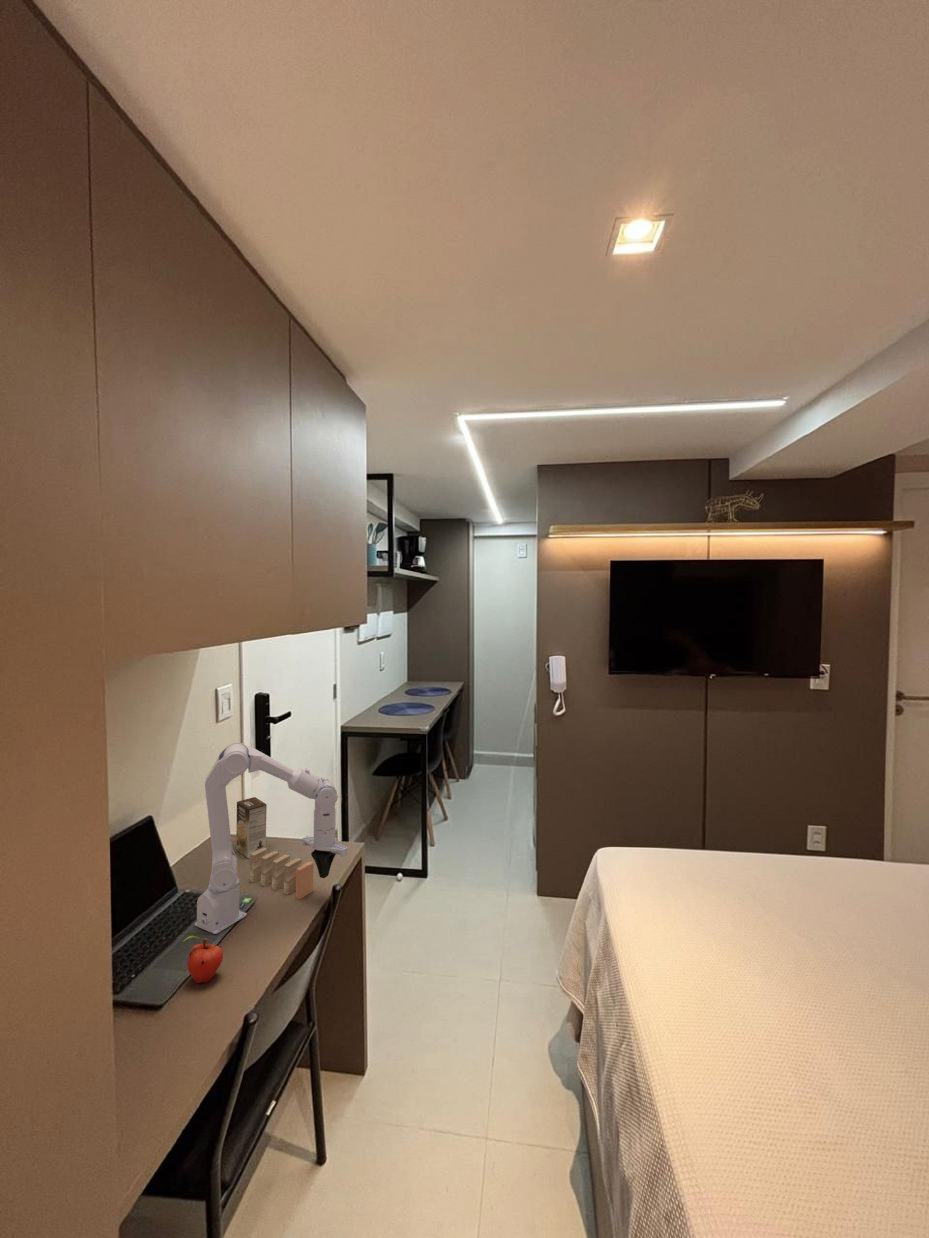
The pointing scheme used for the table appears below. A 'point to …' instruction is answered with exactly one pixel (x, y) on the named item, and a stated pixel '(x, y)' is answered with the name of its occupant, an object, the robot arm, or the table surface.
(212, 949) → the apple
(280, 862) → the cream domino
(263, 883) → the cream domino
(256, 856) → the cream domino
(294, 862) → the cream domino
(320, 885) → the table surface
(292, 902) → the table surface
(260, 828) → the coffee box
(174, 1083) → the table surface
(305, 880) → the terracotta domino
